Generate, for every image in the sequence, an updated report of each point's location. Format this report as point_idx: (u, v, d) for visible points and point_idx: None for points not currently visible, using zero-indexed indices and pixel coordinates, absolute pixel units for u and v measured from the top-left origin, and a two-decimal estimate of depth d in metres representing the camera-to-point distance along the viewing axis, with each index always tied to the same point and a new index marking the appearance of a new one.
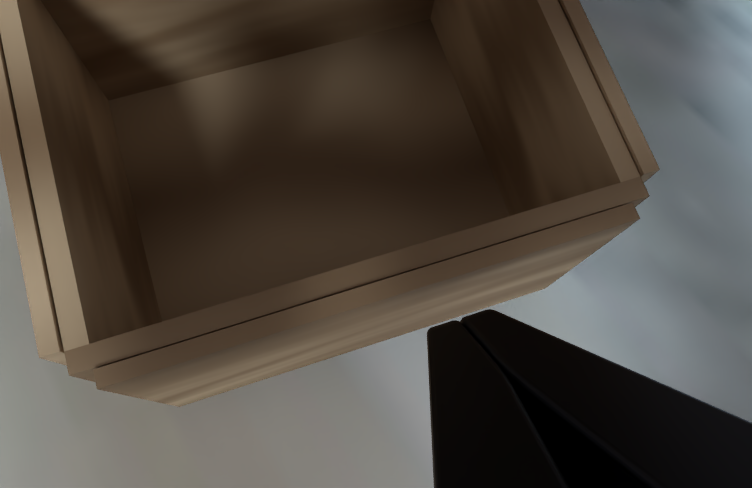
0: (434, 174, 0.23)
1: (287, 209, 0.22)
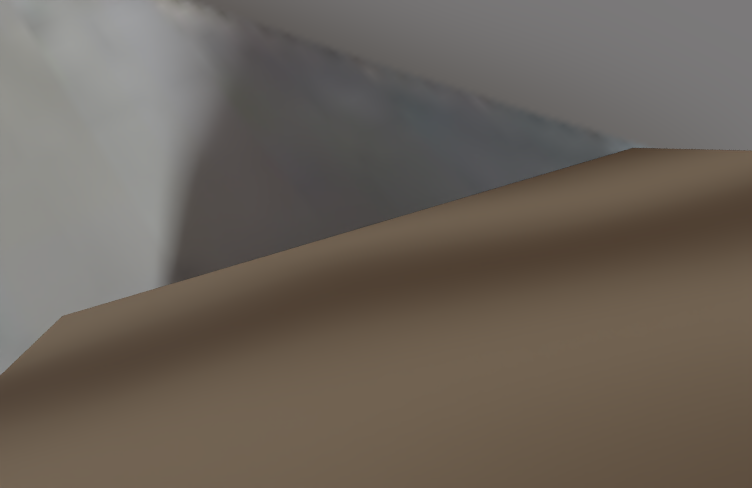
0: None
1: None
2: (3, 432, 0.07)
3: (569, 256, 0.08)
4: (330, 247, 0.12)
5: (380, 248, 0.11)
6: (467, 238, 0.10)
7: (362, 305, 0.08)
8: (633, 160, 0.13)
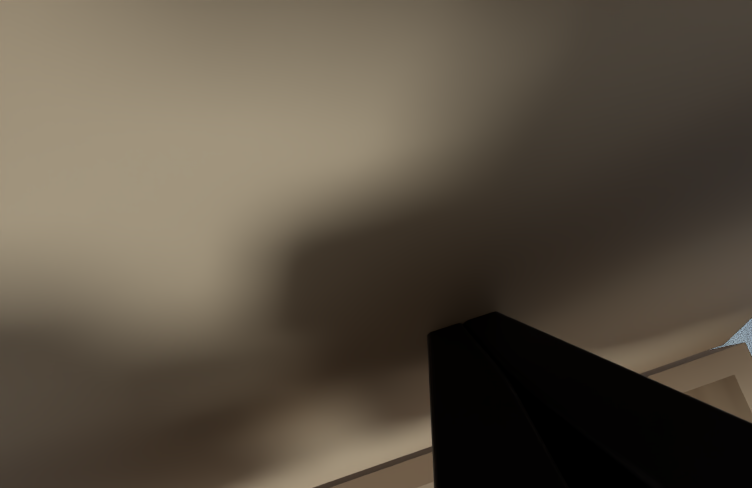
0: None
1: None
2: None
3: None
4: None
5: None
6: None
7: None
8: None
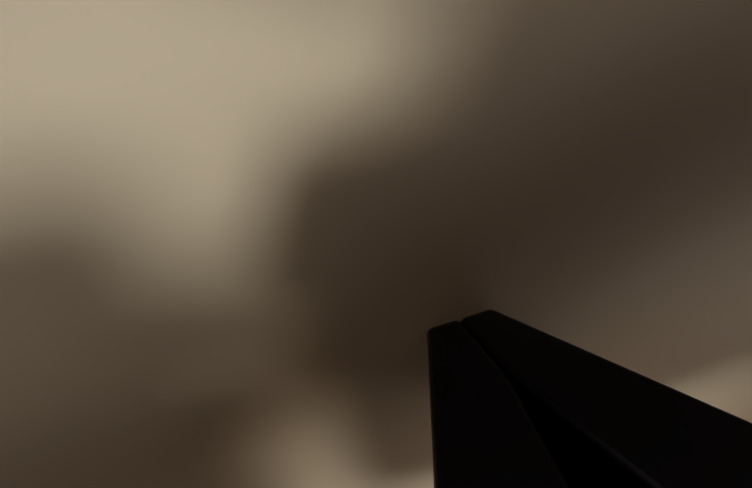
0: None
1: None
2: None
3: None
4: None
5: None
6: None
7: None
8: None
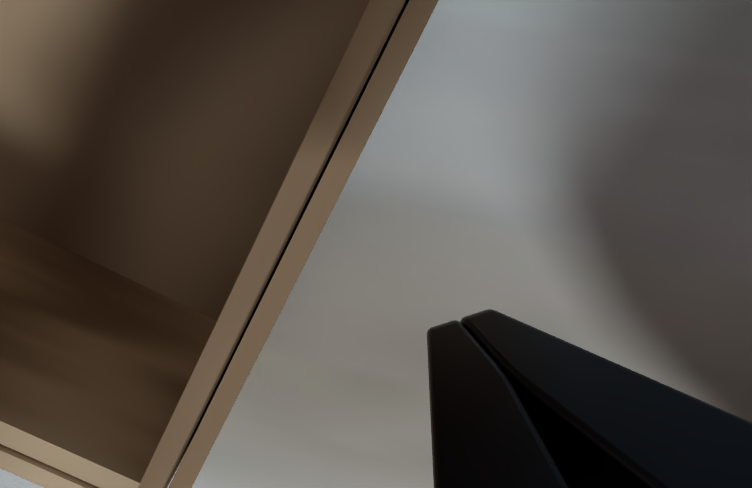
0: None
1: (161, 123, 0.18)
2: None
3: None
4: None
5: None
6: None
7: None
8: None
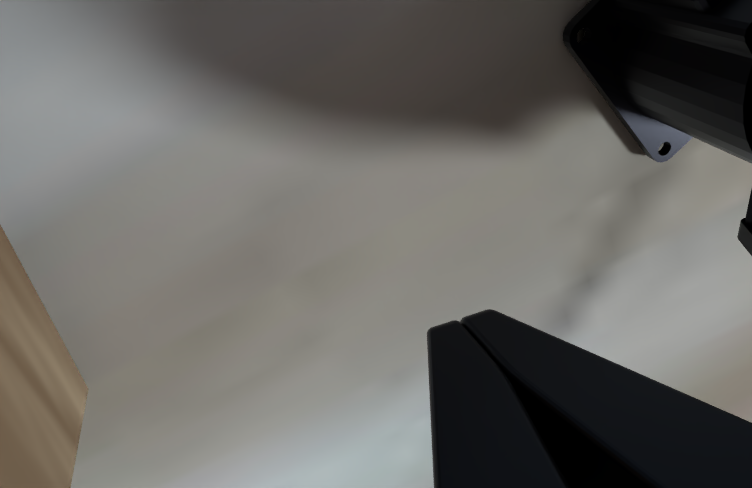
0: None
1: None
2: None
3: None
4: None
5: None
6: None
7: None
8: None
